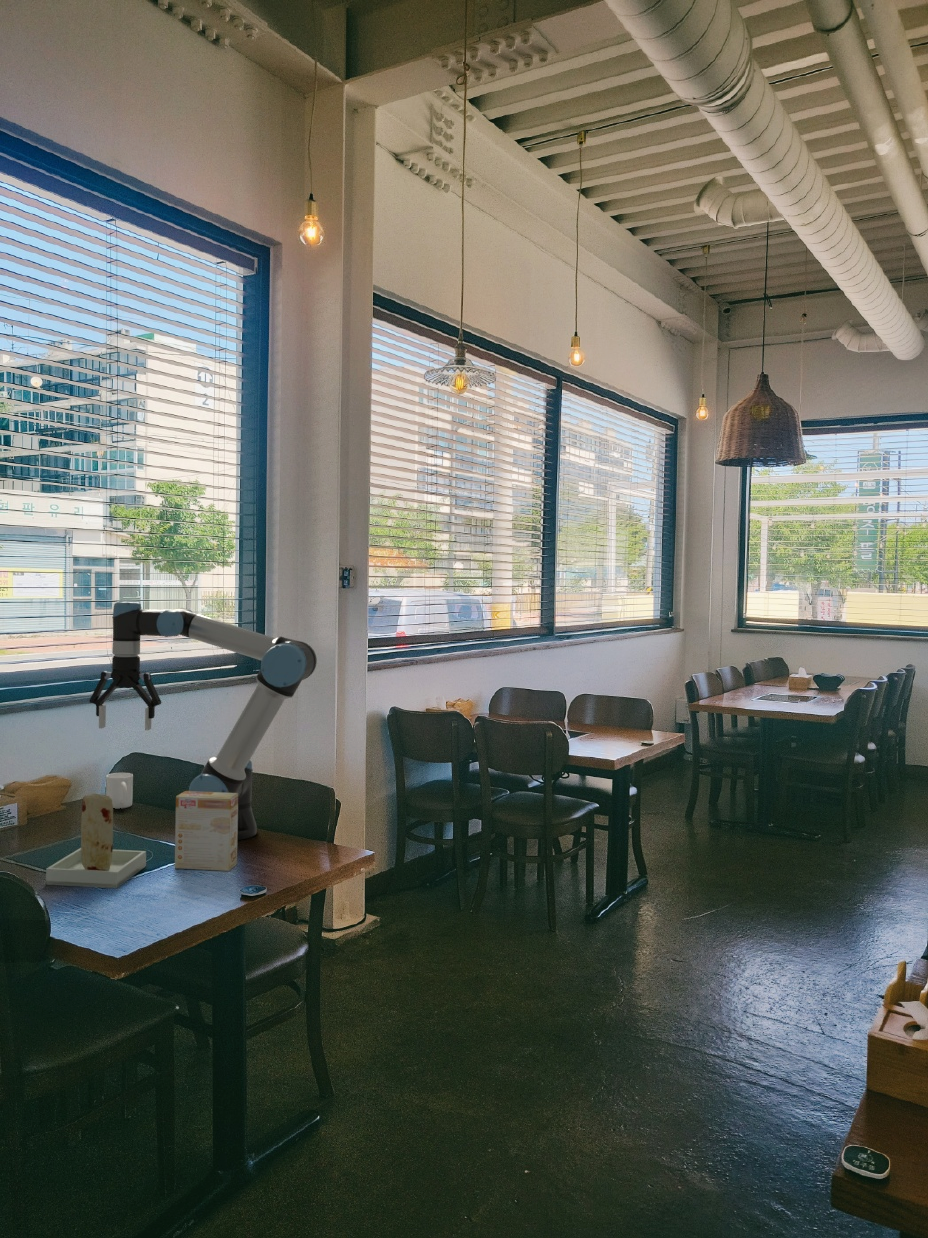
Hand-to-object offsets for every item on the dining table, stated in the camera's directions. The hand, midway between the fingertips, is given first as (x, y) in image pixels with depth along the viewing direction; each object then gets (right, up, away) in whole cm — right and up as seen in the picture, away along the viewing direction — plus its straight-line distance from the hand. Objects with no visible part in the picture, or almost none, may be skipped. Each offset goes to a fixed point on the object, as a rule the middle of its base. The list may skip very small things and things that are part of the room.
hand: (125, 728), depth 270 cm
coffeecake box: (+29, -35, -19) cm, 49 cm away
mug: (-16, -31, +39) cm, 52 cm away
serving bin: (+4, -34, -29) cm, 45 cm away
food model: (+4, -33, -29) cm, 45 cm away
